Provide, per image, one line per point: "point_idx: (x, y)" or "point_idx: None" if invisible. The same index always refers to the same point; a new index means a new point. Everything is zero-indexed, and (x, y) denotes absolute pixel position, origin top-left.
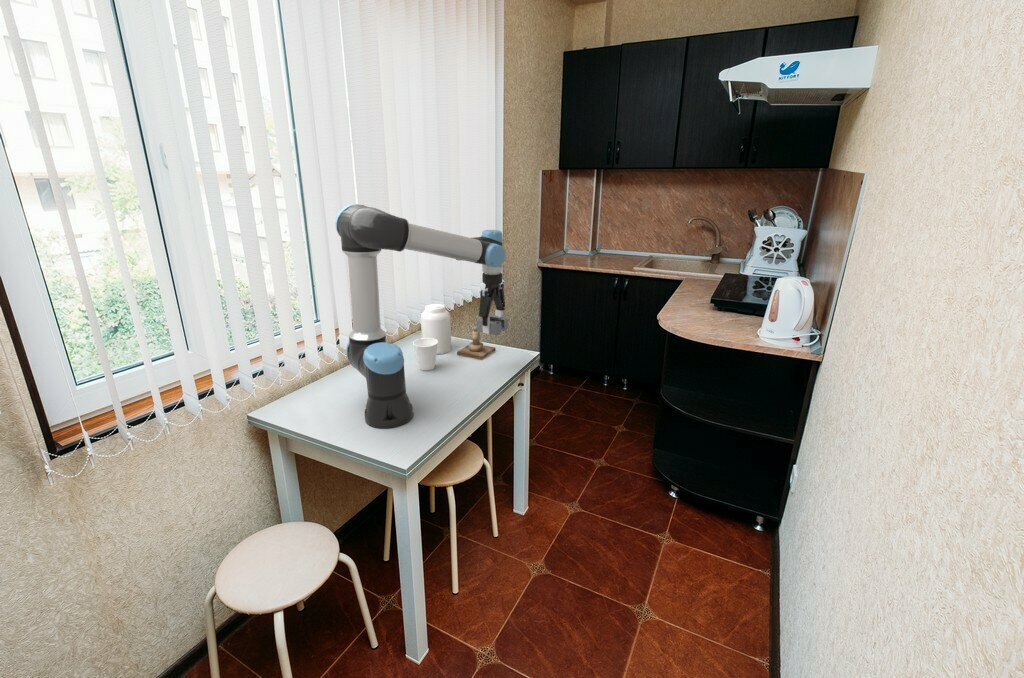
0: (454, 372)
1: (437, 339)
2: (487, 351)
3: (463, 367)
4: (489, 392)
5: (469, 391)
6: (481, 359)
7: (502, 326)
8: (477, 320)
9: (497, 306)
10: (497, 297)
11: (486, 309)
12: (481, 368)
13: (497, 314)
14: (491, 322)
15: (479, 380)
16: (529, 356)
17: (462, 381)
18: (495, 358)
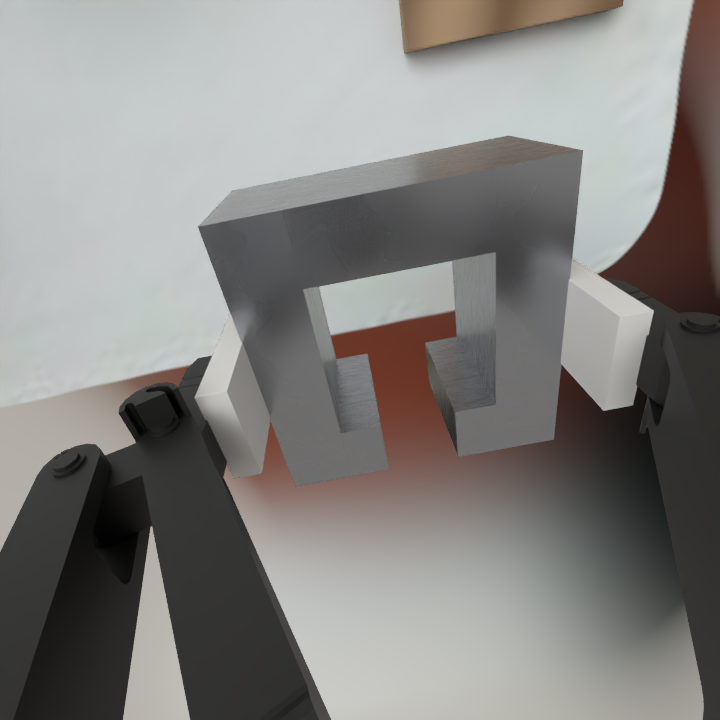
0: (128, 47)
1: None
2: (521, 11)
3: (230, 36)
4: (144, 372)
5: (70, 306)
6: (409, 51)
7: (438, 392)
8: (215, 235)
9: (667, 395)
10: (711, 694)
11: (126, 631)
12: (303, 158)
13: (578, 325)
14: (298, 419)
15: (185, 261)
16: (593, 266)
17: (100, 198)
18: (480, 120)
